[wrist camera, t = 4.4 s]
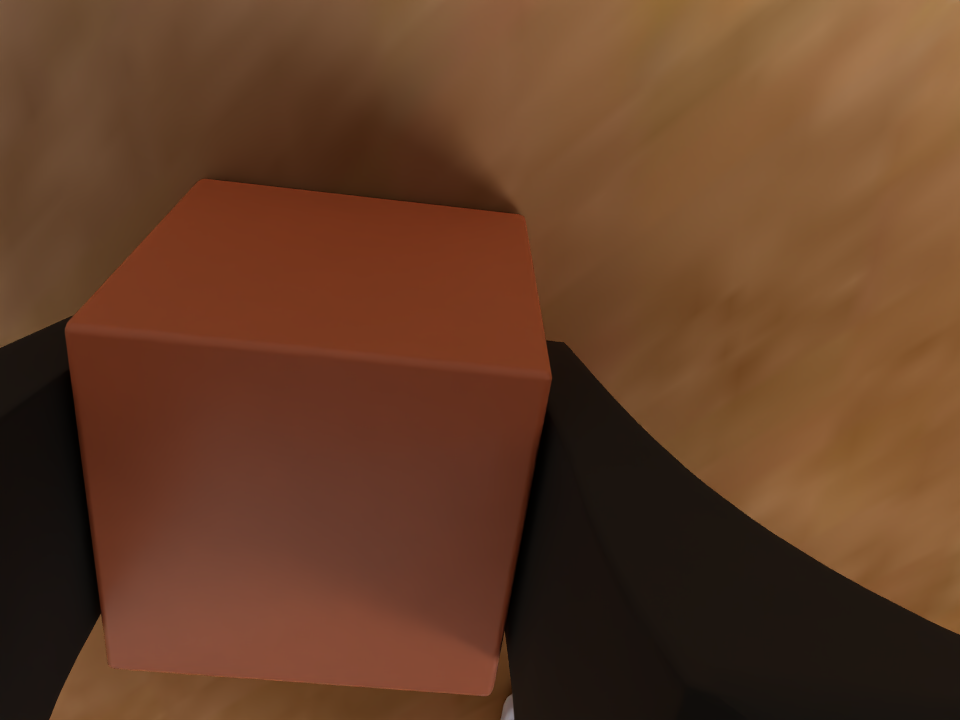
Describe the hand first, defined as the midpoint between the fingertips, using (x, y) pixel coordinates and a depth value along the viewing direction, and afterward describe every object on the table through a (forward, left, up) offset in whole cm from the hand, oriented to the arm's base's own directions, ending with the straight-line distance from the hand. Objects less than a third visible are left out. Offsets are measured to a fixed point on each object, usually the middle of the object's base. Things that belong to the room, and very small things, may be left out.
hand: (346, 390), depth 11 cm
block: (0, 0, -1) cm, 1 cm away
